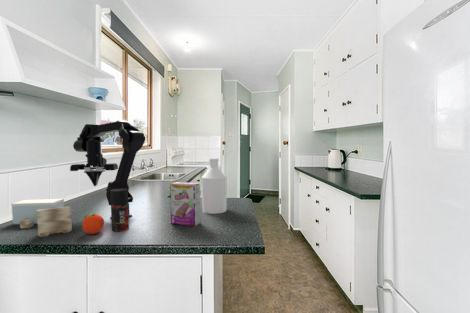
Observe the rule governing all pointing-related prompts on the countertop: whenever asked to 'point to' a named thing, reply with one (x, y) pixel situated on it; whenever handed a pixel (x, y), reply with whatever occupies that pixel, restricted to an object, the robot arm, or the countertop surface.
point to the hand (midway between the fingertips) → (95, 185)
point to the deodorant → (119, 210)
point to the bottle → (214, 189)
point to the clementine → (92, 223)
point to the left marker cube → (27, 223)
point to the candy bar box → (185, 203)
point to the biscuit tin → (33, 208)
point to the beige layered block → (54, 220)
